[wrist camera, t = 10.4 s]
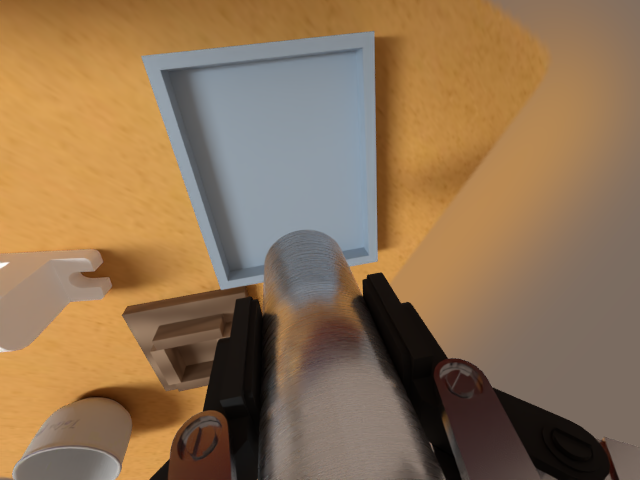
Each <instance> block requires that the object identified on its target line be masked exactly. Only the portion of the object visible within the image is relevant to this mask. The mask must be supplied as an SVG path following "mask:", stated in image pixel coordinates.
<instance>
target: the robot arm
mask: <svg viewBox="0 0 640 480" xmlns="http://www.w3.org/2000/svg"><path fill="white" fill-rule="evenodd" d="M363 298H364V300H365V302H366V305H367V307H368V309H369V311H370V313H371V316H372V318H373V320H374V322H375V324H376V327H377V329H378V331H379V333H380V335H381V338H382V340H383V342H384V344H385V346H386V349H387V351H388V353H389V355H390V357H391V360H392V362H393V364H394V366H395V368H396V371H397V373H398V375H399V377H400V379H401V382H402V384H403V386H404V388H405V390H406V392H407V395H408V397H409V399H410V401H411V403H412V406H413V408H414V410H415V412H416V414H417V417H418V419H419V421H420V423H421V425H422V428H423V430H424V432H425V434H426V436H427V439H428V441H429V443H430V445H431V447H432V450H433V452H434V454H435V456H436V458H437V461H438V463H439V465H440V467H441V469H442V472H443V474H444V476H445V478H446V480H640V447H637V446H634V445H631V444H627V443H624V442H620V441H617V440H614V439H610V438H607V437H603V439H602V440H599V439H596V438H594V437H593V436H592V435H591V434H590V433H589V432H587V431H586V430H584V429H583V428H582V427H581V426H579V425H577V424H575V423H573V422H571V421H570V420H567V419H565V418H563V417H560V416H558V415H555V414H553V413H551V412H548V411H546V410H544V409H542V408H539V407H537V406H535V405H532V404H530V403H528V402H525V401H523V400H521V399H518V398H516V397H514V396H511V395H509V394H507V393H504V392H502V391H500V390H497V389H495V388H493V387H492V386H491V384H490V382H489V380H488V379H487V377H486V376H485V375H484V373H483V372H482V371H481V370H480V369H479V368H478V367H477V366H475V365H474V364H472V363H470V362H468V361H465V360H462V359H456V358H450V359H448V358H447V357H446V355H445V353H444V352H443V350H442V349H441V347H440V346H439V345H438V343H437V341H436V340H435V338H434V337H433V335H432V334H431V332H430V331H429V330H428V328H427V326H426V325H425V323H424V322H423V320H422V319H421V317H420V316H419V314H418V313H417V312H416V310H415V309H414V307H413V306H412V305H411V303H409V302H406V303H400V301H399V299H398V298H397V296H396V294H395V293H394V291H393V289H392V288H391V286H390V285H389V283H388V281H387V280H386V278H385V277H384V275H383V274H382V273H375V274H370V275H367V279H363ZM262 322H263V316H262V312H261V309H260V305H259V301H258V299H255V300H253V298H252V297H251V296H250V297H245V298H239V299H236V302H235V308H234V315H233V321H232V327H231V333H230V337H226V338H221V339H219V340H218V342H217V346H216V350H215V355H214V360H213V365H212V370H211V374H210V379H209V384H208V389H207V394H206V398H205V403H204V408H203V412H200V413H198V414H196V415H194V416H192V417H191V418H190V419H189V420H187V421H186V422H185V423H184V424H183V425H182V427H181V428H180V429H179V430H178V432H177V433H176V435H175V437H174V439H173V442H172V446H171V452H170V459H169V460H168V461H167V462H166V463H165V464H164V465H163V466H162V467H161V468H160V469H159V470H158V471H157V472H156V473H155V474H154V475H153V476H152V477H151V478H150V480H257V479H258V455H259V422H260V389H261V355H262Z"/></svg>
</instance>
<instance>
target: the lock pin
mask: <svg viewBox="0 0 640 480" xmlns="http://www.w3.org/2000/svg"><path fill="white" fill-rule="evenodd" d="M258 480H446V478H445V476H444V474H443V472H442V469H441V467H440V465H439V463H438V461H437V458H436V456H435V454H434V452H433V450H432V447H431V445H430V443H429V441H428V439H427V436H426V434H425V432H424V430H423V428H422V425H421V423H420V421H419V419H418V417H417V414H416V412H415V410H414V408H413V406H412V403H411V401H410V399H409V397H408V395H407V392H406V390H405V388H404V386H403V384H402V382H401V379H400V377H399V375H398V373H397V371H396V368H395V366H394V364H393V362H392V360H391V357H390V355H389V353H388V351H387V349H386V346H385V344H384V342H383V340H382V338H381V335H380V333H379V331H378V329H377V327H376V324H375V322H374V320H373V318H372V316H371V313H370V311H369V309H368V307H367V305H366V302H365V300H364V298H363V296H362V294H361V292H360V289H359V287H358V285H357V283H356V281H355V278H354V276H353V274H352V272H351V270H350V267H349V265H348V263H347V261H346V259H345V256H344V254H343V252H342V250H341V248H340V246H339V245H338V243H337V242H336V241H335V240H334V239H333V238H331V237H330V236H328V235H327V234H325V233H322V232H319V231H315V230H299V231H294V232H291V233H288V234H286V235H284V236H283V237H281V238H280V239H278V240H277V241H276V242H275V243H274V244H273V245H272V246H271V248H270V249H269V251H268V253H267V255H266V258H265V262H264V289H263V322H262V355H261V389H260V422H259V455H258Z"/></svg>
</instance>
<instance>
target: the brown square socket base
mask: <svg viewBox="0 0 640 480" xmlns="http://www.w3.org/2000/svg"><path fill="white" fill-rule="evenodd" d="M245 297H249V296H248V293H247V289H246V286H240V287H235V288H229V289H224V290H215V291H210V292H205V293H199V294H194V295H188V296H183V297H177V298H172V299H166V300H161V301H155V302H150V303H144V304H139V305H133V306H128V307H127V308H126V310H125V311H124V313H123V314H122V316H123V318H124V320H125V321H126V323H127V325H128V327H129V328H130V330H131V332H132V333H133V335H134V337H135V339H136V340H137V342H138V344H139V346H140V347H141V349H142V351H143V352H144V354H145V356H146V358H147V359H148V361H149V363H150V365H151V366H152V368H153V370H154V371H155V373H156V375H157V377H158V378H159V380H160V382H161V384H162V385H163V387H164V389H165V390H166V391H170V390H174V389H178V390H179V391H184V390H188V389H193V388H198V387H202V386H207V385H208V384H209V379H210V374H211V370H212V365H213V360H214V355H215V350H216V346H217V342H218V340H219V339H221V338H226V337H230V333H231V327H232V321H233V315H234V308H235V302H236V299H239V298H245Z"/></svg>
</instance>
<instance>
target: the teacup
mask: <svg viewBox="0 0 640 480" xmlns="http://www.w3.org/2000/svg"><path fill="white" fill-rule="evenodd" d="M131 432H132V419H131V416H130V414H129V413H128V411H127V410H126V409H125V408H124V407H123V406H122V405H121V404H119V403H118V402H116V401H114V400H112V399H108V398H102V397H92V398H86V399H82V400H79V401H77V402H73V403H71V404H68V405H66V406H64V407H62V408H60V409H58V410H57V411H56V412H54V413H53V414H52V415H51V416H50V417H49V418H48V419H47V420H46V421H45V423H44V424H43V425H42V427H41V428H40V429H39V431H38V432H37V434H36V435H35V437H34V438H33V440H32V441H31V443H30V445H29V446H28V448H27V450H26V451H25V453H24V455H23V456H22V458H21V459H20V460H19V461H18V462H17V464H16V465H15V467H14V469H13V473H12V475H13V479H14V480H115V479H116V478H117V477H118V476H119V474H120V472H121V468H122V462H123V459H124V456H125V453H126V450H127V447H128V443H129V440H130V436H131Z"/></svg>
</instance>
